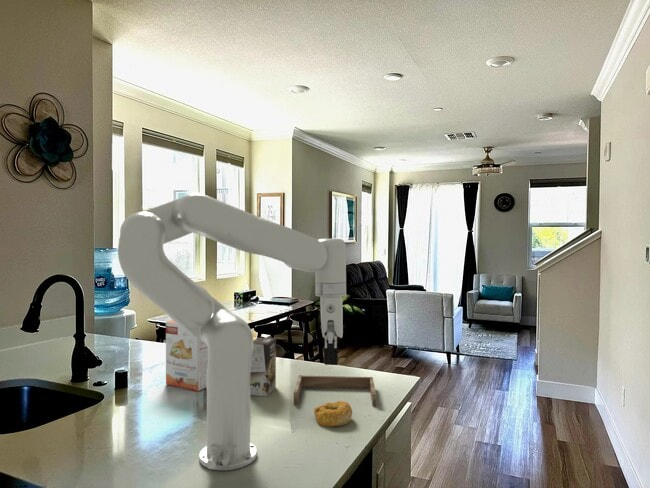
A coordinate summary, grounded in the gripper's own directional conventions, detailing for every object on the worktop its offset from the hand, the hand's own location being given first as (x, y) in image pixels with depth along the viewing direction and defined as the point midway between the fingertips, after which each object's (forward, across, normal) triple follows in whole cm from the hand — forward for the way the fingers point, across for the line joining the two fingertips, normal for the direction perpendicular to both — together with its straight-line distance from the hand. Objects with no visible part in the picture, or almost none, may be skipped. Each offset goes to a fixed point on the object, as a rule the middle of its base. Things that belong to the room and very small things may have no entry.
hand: (331, 358), depth 114 cm
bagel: (+20, +10, 0) cm, 22 cm away
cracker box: (+19, +34, +48) cm, 62 cm away
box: (+20, +28, 0) cm, 34 cm away
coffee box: (+19, +31, +23) cm, 43 cm away
